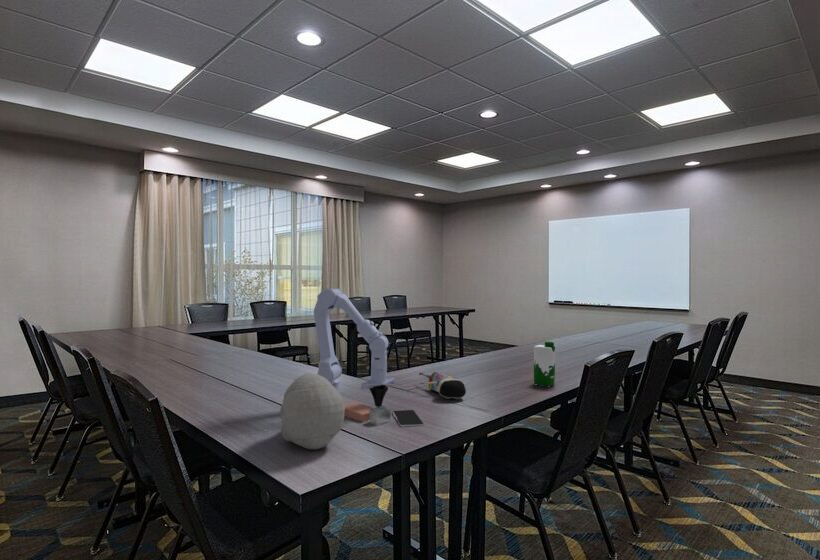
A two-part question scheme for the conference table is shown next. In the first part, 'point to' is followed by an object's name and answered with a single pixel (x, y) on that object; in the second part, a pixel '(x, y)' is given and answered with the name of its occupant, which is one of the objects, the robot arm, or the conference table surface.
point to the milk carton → (544, 364)
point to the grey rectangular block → (379, 415)
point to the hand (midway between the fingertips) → (378, 406)
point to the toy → (446, 385)
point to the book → (357, 411)
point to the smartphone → (407, 418)
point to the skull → (311, 412)
